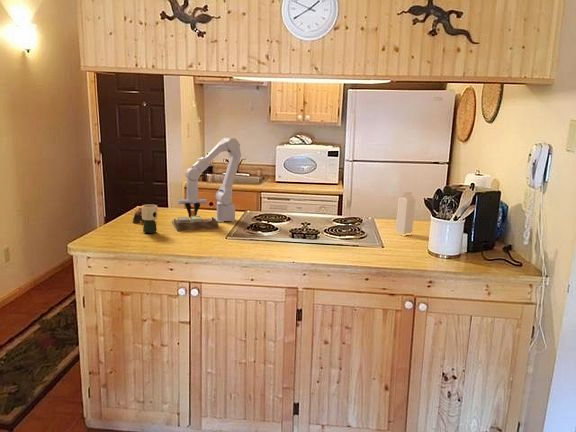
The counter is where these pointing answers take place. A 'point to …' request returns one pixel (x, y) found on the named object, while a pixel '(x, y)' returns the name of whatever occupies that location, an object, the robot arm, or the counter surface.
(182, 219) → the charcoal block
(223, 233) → the counter surface
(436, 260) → the counter surface
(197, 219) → the rod with orange block
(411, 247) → the counter surface
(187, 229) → the lane shelf
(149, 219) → the character mug
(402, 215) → the milk
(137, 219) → the dark brown lumpy figurine
